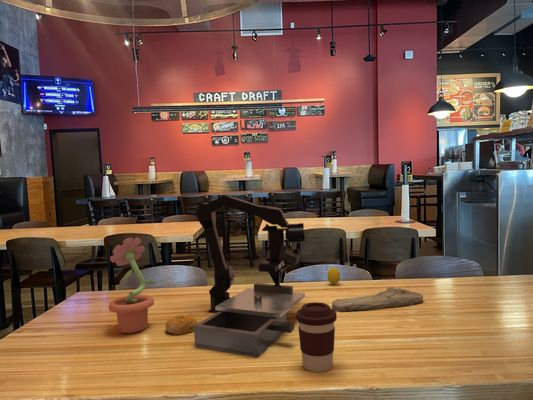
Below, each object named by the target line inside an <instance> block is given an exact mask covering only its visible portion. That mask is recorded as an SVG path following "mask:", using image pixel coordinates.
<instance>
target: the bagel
mask: <svg viewBox="0 0 533 400" xmlns="http://www.w3.org/2000/svg"><path fill="white" fill-rule="evenodd" d="M165 323H166V324H165V331H166V332H167V333H170V334H173V335H186V334H190V333H192V332H194V326H195V325H196V324H198V323H199V322H197V320H196V318H195V317H194V316H192V315H179V314H178V315H175V316H173V317H169V318H168V319H167V321H166V322H165Z"/></svg>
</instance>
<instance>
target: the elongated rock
mask: <svg viewBox="0 0 533 400" xmlns="http://www.w3.org/2000/svg"><path fill="white" fill-rule="evenodd" d="M423 300H424V295H423V294H422V293H420V292H417V291H410V290H408V289H405V288H401V287H398V288H395V287H393V286H389V287H387V288H386V290H384V291H380V292H378V293H377V294H374V295H363V296H357V297H347V298H337V299H334V300H333V301H332V303H331V309H333V310H334V311H335V312H336V313H337V312H338V313H339V312H340V313H342V312H350V311H351V312H352V311H356V312H357V311H367V310H382V309H386V308H391V307H393V308H396V307H399V308H400V307H402V306H403V307H405V306H413V304H418V303H420V302H423Z"/></svg>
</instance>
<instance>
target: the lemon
mask: <svg viewBox="0 0 533 400" xmlns="http://www.w3.org/2000/svg"><path fill="white" fill-rule="evenodd" d="M326 278H327V280H328V281H327V282H329V283H330V284H332V285H333V286H335V285H336V284H338V283H339V282H340V280H341V273H340V269H338V268H337V267H335V266H332V267H331V268H329V269H328V270H327V275H326Z"/></svg>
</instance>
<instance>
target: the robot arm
mask: <svg viewBox="0 0 533 400" xmlns="http://www.w3.org/2000/svg"><path fill="white" fill-rule="evenodd" d="M225 207H228V208H230V209H234V210H237V211H241V212H243V213H247V214H250V215H253V216H256V217H258V218H259V219H261V220H263V222H266V224H265V226H264V227H262V229H261V231H262V232H267V245H268V246H267V245H266V247H265V249H266V250H267V251H268V257H266V260H264V261H262V262H260V263H259V264H258V269H257V270H258V272H262V273H263V272H264V273H268V274H269V276H270V277H271V280H272V281H273V283H274V284H273V285H281V280H282V279H283V278H282V277H283V273H284V271H285V270H286V268H287V267H289V265H287V264H285V263H284V262H286V263H288V264H290V265H291V266H296V265H297V264H299V262H300V259H301V258H302V254H301V251H300V249H298V248H295V249H293V250H289V249H288V246H287V244H285V240H286V241H288V243H289V244H293V243H295V244H296V243H305V242H306V241H305V239H306V238H305V228H304V223H303V222H299V223H289V221H288V220H286V218H285V217H284V212H283V210H282V209H281V208H279V207H276V206H267V205H260V204H256V203H252V202H250V201H247V200H244V199H241V198H237V197H234V196H232V195H230V194H222V195H221V196H220V197H218V198H216V199H214V200H212V201H210V202H203V203H201V204H198V205H197V206H196V207H195V208H196V209H195V217H196V218H197V220H198V223H199V224H200V226H201V227H202V228H203V230H204V234H205V238H206V240H207V244H208V245H207V246H208V249H209V251H210V252H209V253H210V256H211V259H212V263H213V267H214V270H213V271H214V272H213V278H214V279H213V280H214V285H213V286H212V287H211V288H210V289H209V290H208V293H209V297H210V308H209V309H208V312H210V313H217V312H218V310H215V306H217V305H219V304H221V303H222V302H224V301H226V300H228V299H229V298H231V297H230V292H228V290H229V289H230V288H231V286H232V285H233V283H234V281H235V277H236V275H235V274H234V269H233V268H234V267H233V265H231V266H229V265H228V264H227V262H226V259H225V256H224V252H223V248H222V243H221V240H220V237H219V234H218V230H217V226H216V225H217V224H216V223H217V216H216V215H217V214H216V212H217V211H219V210H221V209H224V208H225ZM269 224H270V225H269ZM278 226H279V227H278ZM284 232H285V233H284Z"/></svg>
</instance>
